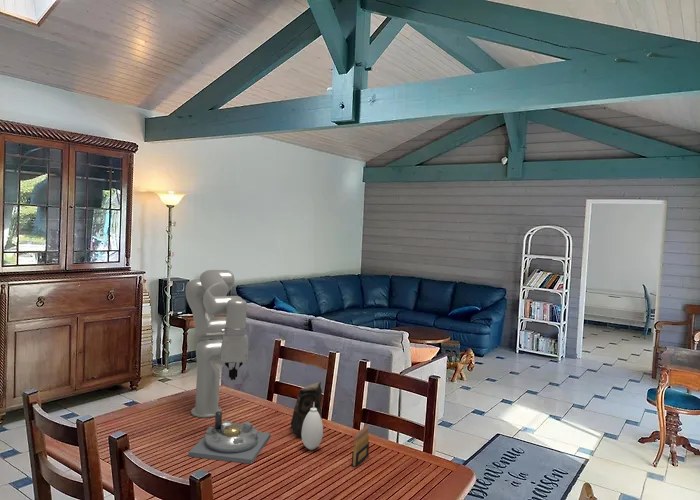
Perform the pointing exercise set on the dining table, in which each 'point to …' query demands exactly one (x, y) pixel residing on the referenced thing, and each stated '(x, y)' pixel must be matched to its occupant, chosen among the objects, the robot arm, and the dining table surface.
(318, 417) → the white air blower bulb
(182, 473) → the dining table surface
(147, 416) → the dining table surface
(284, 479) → the dining table surface
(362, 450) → the brown flat upright block
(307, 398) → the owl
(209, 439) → the grey crank wheel
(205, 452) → the plate
